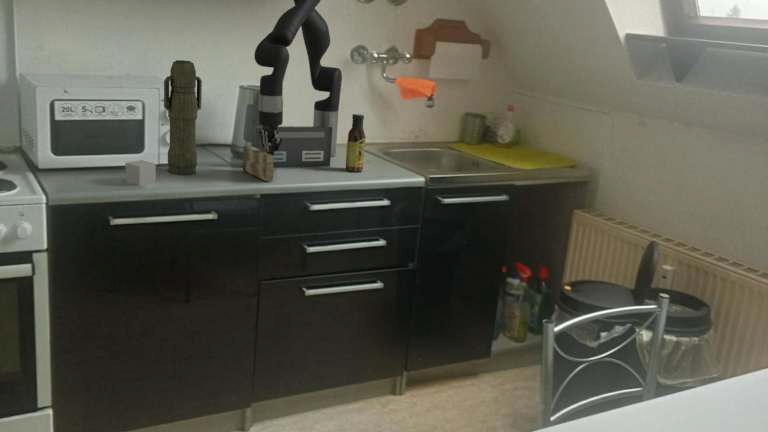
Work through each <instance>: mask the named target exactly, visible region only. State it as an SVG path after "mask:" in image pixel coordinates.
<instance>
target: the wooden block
mask: <svg viewBox="0 0 768 432" xmlns="http://www.w3.org/2000/svg"><path fill="white" fill-rule="evenodd" d="M242 150H243V155H242V171H244V172H246V173H249V174H250V175H253V176H255V177H256V178H259V179H261V180H263V181H265V182H270V181H274V180H273V179H274V168H273V162H274V156H273V155H271V154H269V153H266V152H264V151H261V150H259V149H257V148H254V147H253V145H243V149H242Z"/></svg>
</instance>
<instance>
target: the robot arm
mask: <svg viewBox="0 0 768 432" xmlns="http://www.w3.org/2000/svg"><path fill="white" fill-rule="evenodd" d="M293 3H294V6H292V7H291V8H289V9H287V10H286V11H285V12H283V13H282V15H280V17H279V18H278V19H277V21H276V23H275V25H274V26H273V29H272V31H271V32H269V33H268V34H267V35H266V36H265V37H264V38H263V39H262V40H261V41H260V42H259V43H258V45H257V46H256V48H255V50H254V61H255V63H256V64H257V65H258V66H261V67H262V68H263V67H265V68H273V69H272V72H271V74H264V75H262V76H261V77H260V78H259V79H260V80H259V99H258V124H259V125H261V126H263V127H262V129H263V130H262V131H259V136H260V139H261V143H262V147H263V148H265V151H266V153H269V154H271V155H273V156H274V152H275V151H278V149H279V146H280V144H281V142H282V138H281V137H280V138H279V136H278V133H279V131H278V126H282V125H283V123H284V122H283V119H284V117H283V116H284V100H283V99H284V98H283V90H284V88H283V87H284V80H285V75H286V72H287V68H288V64H289V62H290V52H289V50H288V48H287V47H289V46H291V45H292V43H293V41H294V39H295V38H296V36H297V34H298V32H299V30H300V28H301V32H302V38H303V42H304V46H305V51H306V54H307V59H308V65H309V73H310V80H311V81H310V82H311V85H312V88H313V89H314V90H315V91H318V92H322V93H323V92H325V93H329V95H328V97H326V98H325V99H321V100H317V101H315V102H314V104H313V105H314V107H313V119H312V120H313V122H312V127H332V142H331V157H330V158H333V157H336V156H337V154H336V153H337V152H336V150H337V138H338V123H339V108H340V101H341V100H340V99H341V89H342V82H343V81H342V80H343V74H342V70H341V69H340V68H339V67H333V66H332V67H331V66H324V65H322V64H321V61H322V58H323V56H325V54H326V53H327V51H328V49H329V46H330V45H331V35H330V29H329V25H328V23H327V21H326V20H325V18H324V17H323V16H322V15H321V13H320V12H319V11H318V10H317V9H316V8H317V6H318V4H320V3H321V0H293ZM273 163H274V162H273Z"/></svg>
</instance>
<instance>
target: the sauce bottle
mask: <svg viewBox="0 0 768 432" xmlns="http://www.w3.org/2000/svg"><path fill="white" fill-rule="evenodd" d="M351 117H352V124H351V126H352V127H351V129H349V130H348V134H347V140H346V141H347V142H346V143H347V144H346V153H345V154H346V156H345V170H346V171H347V172H352V173H359V172H362V171H363V168H364V161H365V149H366V134H365V131H364V119H365V115H364V114H361V113H353V114H352V116H351Z"/></svg>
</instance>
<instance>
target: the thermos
mask: <svg viewBox="0 0 768 432" xmlns="http://www.w3.org/2000/svg"><path fill="white" fill-rule="evenodd" d="M196 71H197V70H196V68H195V63H193V62H192V61H190V60H179V59H178V60H177V59H176V60H175V61H172V65H171V68H170V75H169V76H166V77H165V79H164V81H163V108H165V109H166V110H167V117H168V119H169V147H168V150H167V165H168V169H167V171H168V173H169V174H172V175H175V176H176V175H178V176H190V175H195V174H197V164H198V163H197V162H198V160H197V158H198V152H197V148H196V126H197V125H196V121H197V119H198V111H199V110H201V109H202V94H203V93H202V88H203V86H202V83H203V82H202V79H201V77H200V76H197V72H196Z"/></svg>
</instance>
